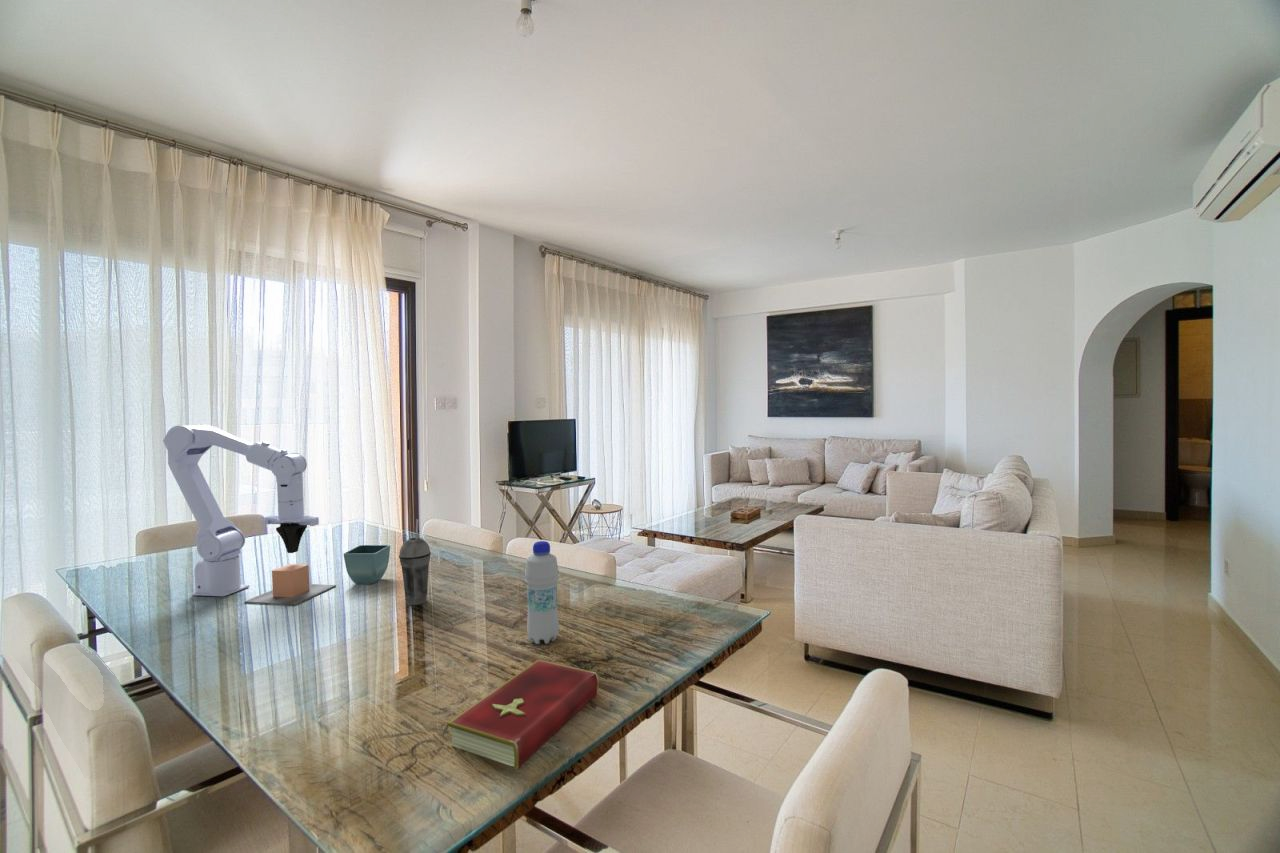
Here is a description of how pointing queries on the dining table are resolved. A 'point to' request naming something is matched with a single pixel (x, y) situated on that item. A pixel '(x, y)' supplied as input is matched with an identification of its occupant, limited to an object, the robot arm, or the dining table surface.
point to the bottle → (542, 594)
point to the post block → (293, 601)
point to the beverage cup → (415, 568)
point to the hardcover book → (524, 712)
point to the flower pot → (367, 563)
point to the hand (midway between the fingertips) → (292, 552)
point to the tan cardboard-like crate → (290, 580)
